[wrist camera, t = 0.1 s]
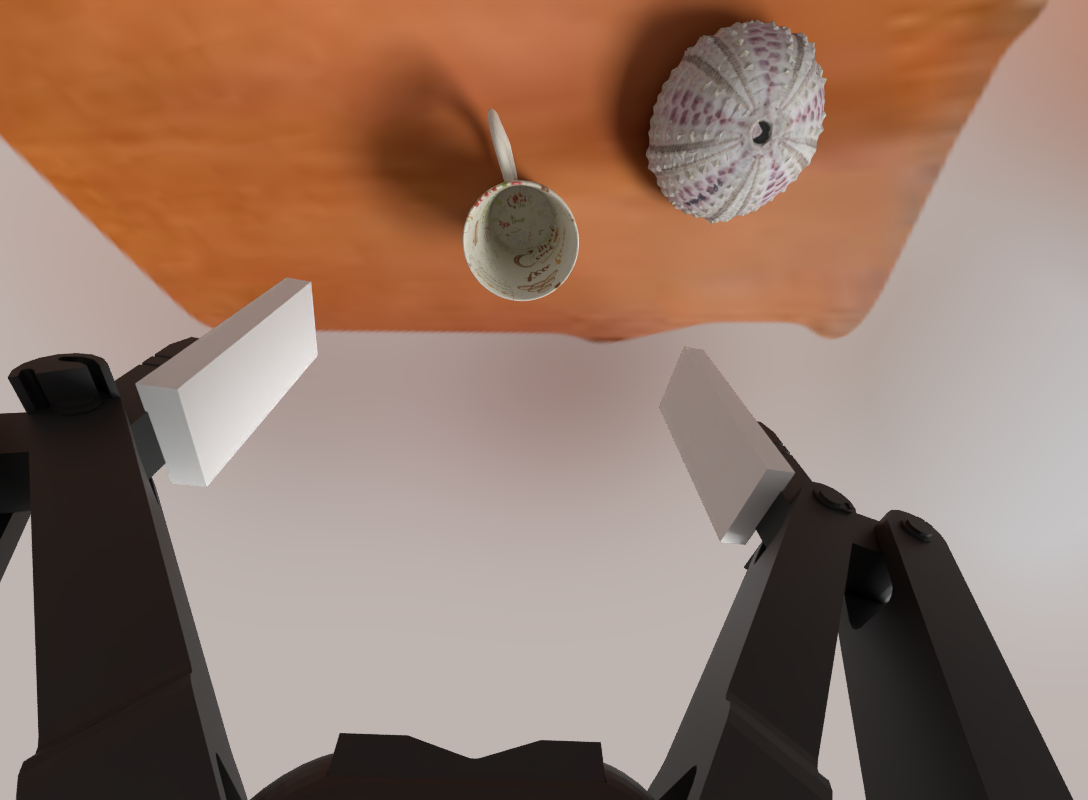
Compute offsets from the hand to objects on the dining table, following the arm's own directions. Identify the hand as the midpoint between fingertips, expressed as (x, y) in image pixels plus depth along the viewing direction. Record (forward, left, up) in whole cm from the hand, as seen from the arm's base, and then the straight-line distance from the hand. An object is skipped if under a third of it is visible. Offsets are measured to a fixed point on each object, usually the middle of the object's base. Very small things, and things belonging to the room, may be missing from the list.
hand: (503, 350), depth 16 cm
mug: (-1, 0, -28) cm, 28 cm away
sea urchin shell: (-9, +16, -28) cm, 34 cm away
